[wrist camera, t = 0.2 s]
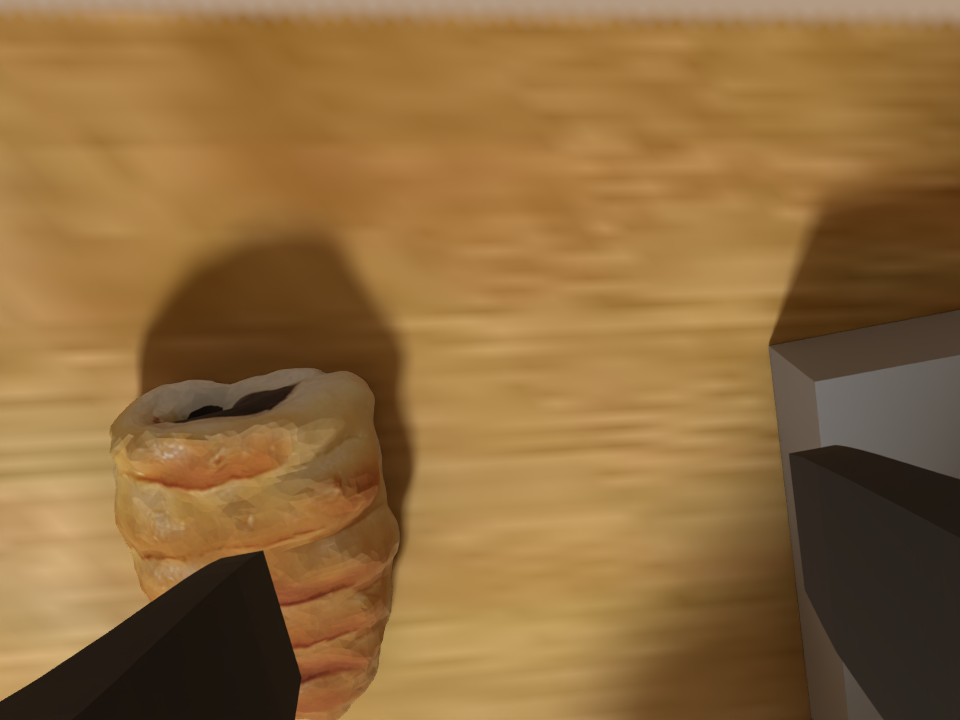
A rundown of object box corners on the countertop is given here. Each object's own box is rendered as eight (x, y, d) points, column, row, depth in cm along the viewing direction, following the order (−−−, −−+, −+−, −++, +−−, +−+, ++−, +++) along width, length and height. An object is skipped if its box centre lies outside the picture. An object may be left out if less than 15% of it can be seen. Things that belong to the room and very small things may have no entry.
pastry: (438, 666, 23) (427, 767, 20) (204, 696, 24) (149, 801, 20) (372, 343, 21) (345, 390, 17) (112, 384, 21) (31, 438, 18)
